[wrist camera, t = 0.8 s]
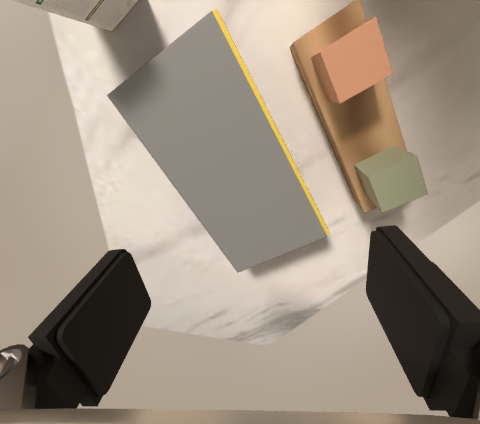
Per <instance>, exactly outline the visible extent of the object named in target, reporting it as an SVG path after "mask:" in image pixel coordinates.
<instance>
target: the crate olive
mask: <svg viewBox="0 0 480 424" xmlns="http://www.w3.org/2000/svg"><path fill="white" fill-rule="evenodd" d="M354 166H355V168H356V171H357V173H358V175H359V178H360V180H361V183H362V185H363V188H364V190H365V192H366V195H367V197H368V198H369V199H370V200H371V201H372V202H373V203H374V204H375V205H376V206H377V207H378V208H379V210H380V211H381V212H382V213H383V212H386V211H388V210H391V209H393V208H395V207H398V206H400V205H403V204H405V203H408V202H410V201H412V200H415V199H417V198H420V197H422V196H425V195H427V194H428V192H427V188H426V185H425V182H424V178H423V175H422V172H421V168H420V165H419V162H418V158H417V156H416V155H414V154H412V153H410V152H408V151H406V150H403V149H401V148H399V147H397V146H395V145H394V146H392V147H390V148H388V149H386V150H384V151H382V152H380V153H377V154H375V155H373V156H371V157H369V158H367V159H365V160H363V161H361V162H359V163H357V164H355V165H354Z"/></svg>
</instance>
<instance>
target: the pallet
mask: <svg viewBox="0 0 480 424" xmlns="http://www.w3.org/2000/svg"><path fill="white" fill-rule="evenodd" d="M366 22H367V20H366V17H365V14H364V11H363V7H362V4H361V1H360V0H355V1H354V2H352V3H351V4H349V5H348V6H347V7H345V8H344V9H342V10H341V11H339V12H338V13H336V14H335V15H333V16H332V17H330V18H329V19H327V20H326V21H324V22H323V23H321V24H320V25H319V26H317V27H316V28H314V29H313V30H311V31H310V32H308V33H307V34H305V35H304V36H302V37H301V38H299V39H298V40H296V41H295V42H293V44H292V45H291V46H290V49H291V52H292V54H293V56H294V59H295V61H296V63H297V66H298V68H299V70H300V73H301V75H302V77H303V80H304V82H305V84H306V87H307V89H308V91H309V94H310V96H311V98H312V101H313V103H314V105H315V108H316V110H317V112H318V115H319V117H320V119H321V122H322V124H323V126H324V129H325V131H326V133H327V136H328V138H329V140H330V143H331V145H332V147H333V150H334V152H335V154H336V157H337V159H338V161H339V164H340V166H341V168H342V171H343V173H344V175H345V178H346V180H347V182H348V185H349V187H350V189H351V192H352V194H353V196H354V199H355V201H356V202H357V203H358V205H359V206H360V207H361V208H362V210H363V211H364V212H367V211H370V210H372V209H375V208H377V206H376V205H375V204H374V203H373V202H372V201H371V200H370V199H369V198H368V197H367V195H366V192H365V190H364V188H363V185H362V183H361V180H360V178H359V175H358V173H357V171H356V168H355V166H354V165H355V164H357V163H359V162H361V161H363V160H365V159H367V158H369V157H371V156H373V155H375V154H377V153H380V152H382V151H384V150H386V149H388V148H390V147H392V146H394V145H395V146H397V147H399V148H401V149H403V150H406V147H405V144H404V140H403V137H402V134H401V131H400V127H399V124H398V121H397V118H396V114H395V111H394V108H393V105H392V101H391V98H390V95H389V92H388V88H387V85H386V82H385V79H383V80H381V81H379V82H378V83H376V84H374V85H372V86H370V87H369V88H367V89H365V90H363V91H362V92H360V93H358V94H356V95H354V96H353V97H351V98H349V99H347V100H346V101H344V102H342V103H336V102H332V101H328V99H327V96H326V94H325V91H324V89H323V86H322V84H321V81H320V79H319V76H318V74H317V71H316V69H315V66H314V64H313V61H312V59H311V57H312V56H314V55H315V54H317V53H318V52H320V51H322V50H323V49H325V48H326V47H328V46H329V45H331V44H332V43H334V42H336V41H337V40H339V39H340V38H342V37H343V36H345V35H346V34H348V33H350V32H351V31H353V30H354V29H356V28H357V27H359V26H361V25H362V24H364V23H366ZM406 151H407V150H406Z"/></svg>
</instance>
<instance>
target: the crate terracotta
mask: <svg viewBox="0 0 480 424" xmlns="http://www.w3.org/2000/svg"><path fill="white" fill-rule="evenodd" d="M311 59H312V61H313V64H314V66H315V69H316V71H317V74H318V76H319V79H320V81H321V84H322V86H323V89H324V91H325V94H326V96H327V99H328V101H332V102H336V103H342V102H344V101H346V100H347V99H349V98H351V97H353V96H354V95H356V94H358V93H360V92H362V91H363V90H365V89H367V88H369V87H370V86H372V85H374V84H376V83H378V82H379V81H381V80H383V79H385V78H386V77H388V76H390V75H392V74H393V73H392V69H391V66H390V63H389V59H388V56H387V52H386V49H385V45H384V42H383V39H382V35H381V32H380V28H379V25H378V22H377V18H376V17H374V18H372V19H371V20H369V21H367V22H366V23H364V24H362V25H361V26H359V27H357V28H356V29H354V30H353V31H351V32H350V33H348V34H346V35H345V36H343V37H342V38H340V39H339V40H337V41H336V42H334V43H332V44H331V45H329V46H328V47H326V48H325V49H323V50H322V51H320V52H318V53H317V54H315V55H314V56H312V57H311Z"/></svg>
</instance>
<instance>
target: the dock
mask: <svg viewBox="0 0 480 424" xmlns="http://www.w3.org/2000/svg"><path fill="white" fill-rule="evenodd" d="M107 96H108V97H109V99H110V100H111V101H112V103H113V104H114V106H115V107H116V108H117V110H118V111H119V112H120V114H121V115H122V116H123V118H124V119H125V120H126V122H127V123H128V125H129V126H130V127H131V129H132V130H133V131H134V133H135V134H136V135H137V137H138V138H139V139H140V141H141V142H142V144H143V145H144V146H145V148H146V149H147V150H148V152H149V153H150V154H151V156H152V157H153V158H154V160H155V161H156V163H157V164H158V165H159V167H160V168H161V169H162V171H163V172H164V173H165V175H166V176H167V177H168V179H169V180H170V182H171V183H172V184H173V186H174V187H175V188H176V190H177V191H178V192H179V194H180V195H181V196H182V198H183V199H184V201H185V202H186V203H187V205H188V206H189V207H190V209H191V210H192V211H193V213H194V214H195V215H196V217H197V218H198V220H199V221H200V222H201V224H202V225H203V226H204V228H205V229H206V230H207V232H208V233H209V234H210V236H211V237H212V238H213V240H214V241H215V243H216V244H217V245H218V247H219V248H220V249H221V251H222V252H223V253H224V255H225V256H226V257H227V259H228V260H229V262H230V263H231V264H232V266H233V267H234V268H235V270H236V271H237V272H241V271H243V270H246V269H248V268H251V267H253V266H255V265H258V264H260V263H263V262H265V261H268V260H270V259H273V258H275V257H278V256H280V255H282V254H285V253H287V252H290V251H292V250H295V249H297V248H300V247H302V246H305V245H307V244H309V243H312V242H314V241H317V240H319V239H322V238H324V237H327V235H329V234H330V233H329V230H328V228H327V226H326V224H325V222H324V220H323V218H322V216H321V214H320V212H319V210H318V208H317V206H316V204H315V202H314V200H313V198H312V197H311V195H310V193H309V191H308V189H307V187H306V185H305V183H304V181H303V179H302V177H301V175H300V173H299V171H298V169H297V167H296V165H295V163H294V161H293V159H292V157H291V155H290V153H289V151H288V149H287V147H286V145H285V143H284V141H283V139H282V137H281V135H280V133H279V131H278V129H277V127H276V125H275V123H274V121H273V119H272V117H271V115H270V113H269V111H268V109H267V107H266V105H265V103H264V101H263V99H262V97H261V95H260V93H259V91H258V89H257V87H256V85H255V83H254V82H253V80H252V78H251V76H250V74H249V72H248V70H247V68H246V66H245V64H244V62H243V60H242V58H241V56H240V54H239V52H238V50H237V48H236V46H235V44H234V42H233V40H232V38H231V36H230V34H229V32H228V30H227V28H226V26H225V24H224V22H223V20H222V18H221V16H220V14H219V12H218V10H217V9H215V10H213V11H211V12H210V13H209V14H207V15H206V16H205V17H204V18H202V19H201V20H200V21H199V22H197V23H196V24H195V25H194V26H192V27H191V28H190V29H189V30H187V31H186V32H185V33H184V34H183V35H181V36H180V37H179V38H178V39H176V40H175V41H174V42H173V43H171V44H170V45H169V46H168V47H166V48H165V49H164V50H163V51H161V52H160V53H159V54H158V55H156V56H155V57H154V58H153V59H152V60H150V61H149V62H148V63H147V64H145V65H144V66H143V67H142V68H140V69H139V70H138V71H137V72H135V73H134V74H133V75H132V76H130V77H129V78H128V79H127V80H125V81H124V82H123V83H122V84H120V85H119V86H118V87H117V88H116V89H114V90H113V91H112V92H111V93H109V94H108V95H107Z"/></svg>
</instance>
